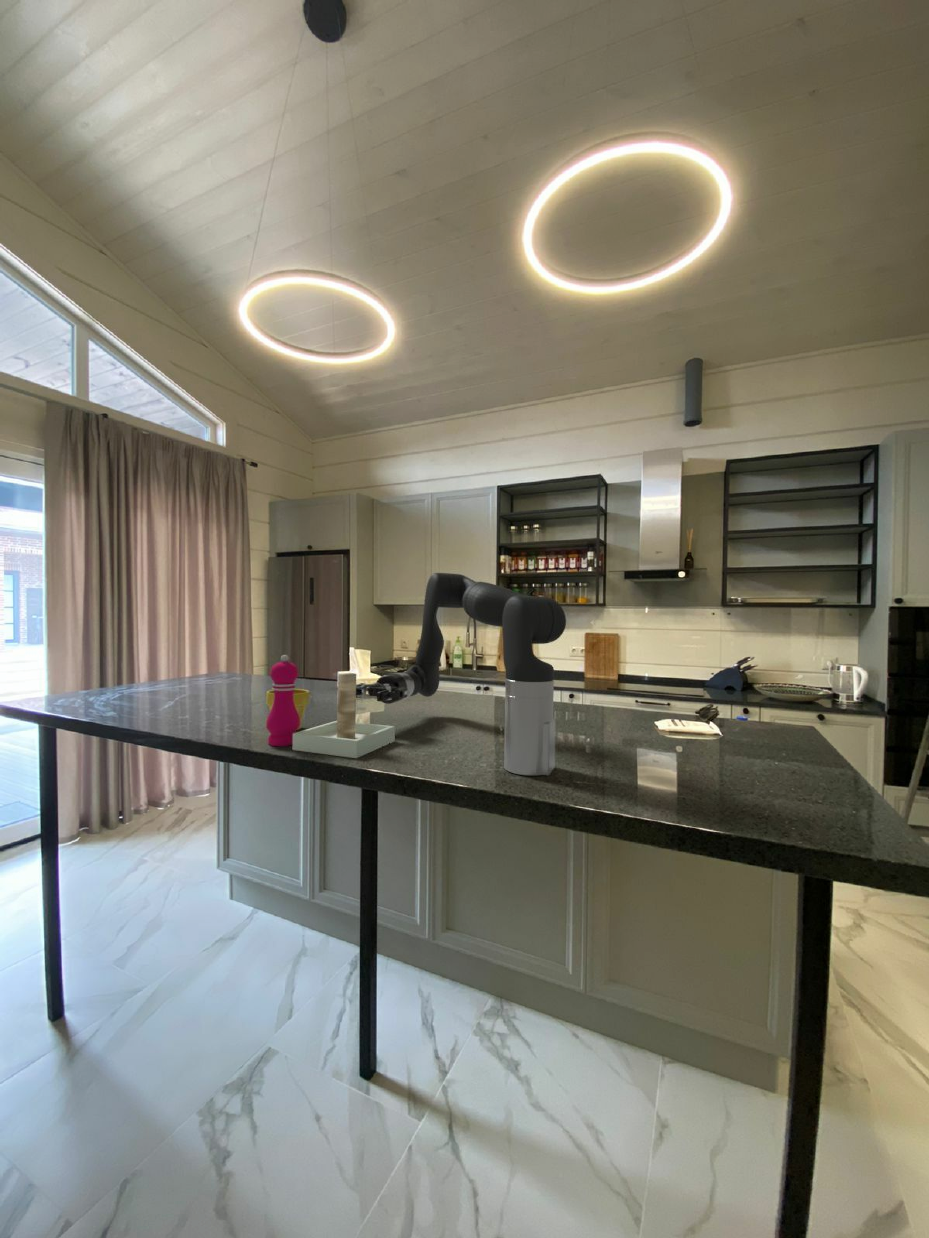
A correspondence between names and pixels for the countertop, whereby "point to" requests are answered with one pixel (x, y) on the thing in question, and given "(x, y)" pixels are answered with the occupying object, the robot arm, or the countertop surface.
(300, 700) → the plant pot
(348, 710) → the peg
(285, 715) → the pepper mill
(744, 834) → the countertop surface
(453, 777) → the countertop surface
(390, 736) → the bin
